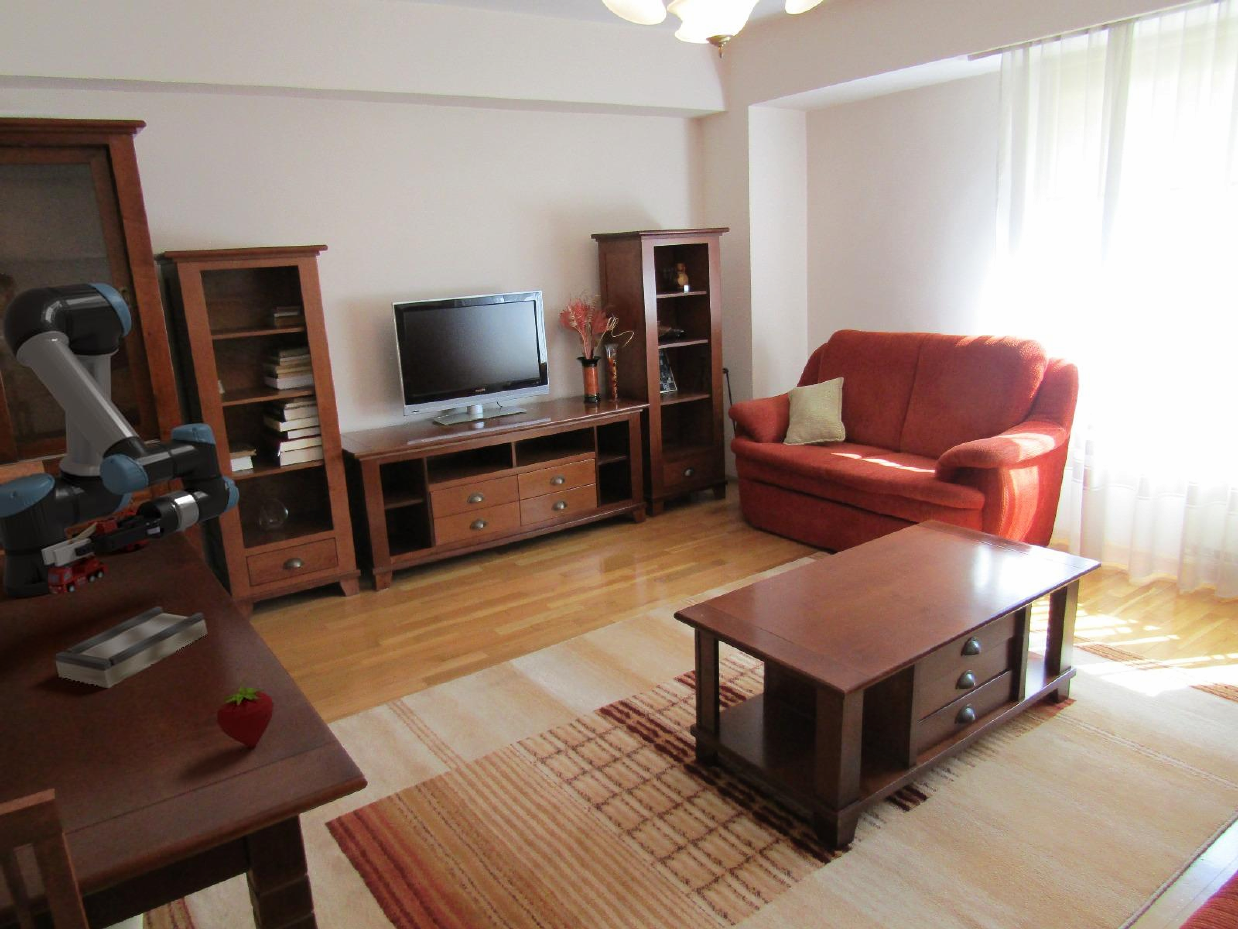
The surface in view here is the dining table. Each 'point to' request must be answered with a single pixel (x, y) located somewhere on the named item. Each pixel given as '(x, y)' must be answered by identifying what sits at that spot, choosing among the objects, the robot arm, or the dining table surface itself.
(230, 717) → the strawberry
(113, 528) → the toy fire truck
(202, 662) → the dining table surface
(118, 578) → the dining table surface
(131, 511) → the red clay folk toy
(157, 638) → the dock
